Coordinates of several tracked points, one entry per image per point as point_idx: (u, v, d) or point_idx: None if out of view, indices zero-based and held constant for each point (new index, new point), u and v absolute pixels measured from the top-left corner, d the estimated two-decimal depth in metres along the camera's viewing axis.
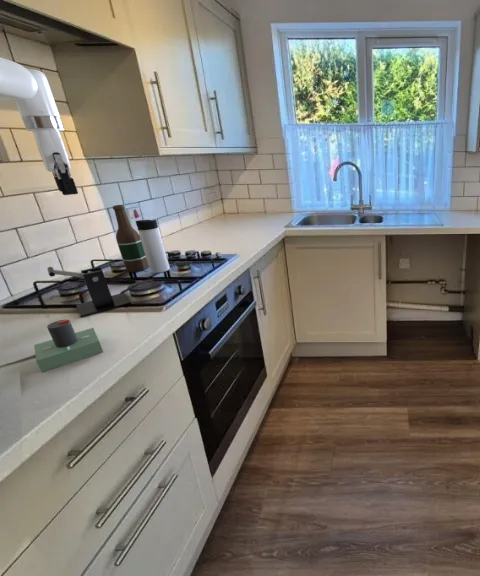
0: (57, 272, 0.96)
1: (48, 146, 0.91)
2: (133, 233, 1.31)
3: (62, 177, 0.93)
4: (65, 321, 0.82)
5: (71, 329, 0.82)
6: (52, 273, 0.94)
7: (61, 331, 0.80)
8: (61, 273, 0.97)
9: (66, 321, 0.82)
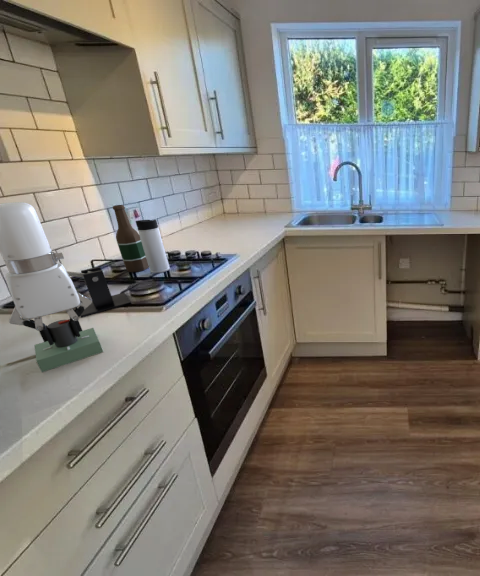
0: None
1: None
2: (133, 233, 1.31)
3: None
4: (65, 321, 0.82)
5: (71, 329, 0.82)
6: None
7: (61, 331, 0.80)
8: None
9: (66, 321, 0.82)
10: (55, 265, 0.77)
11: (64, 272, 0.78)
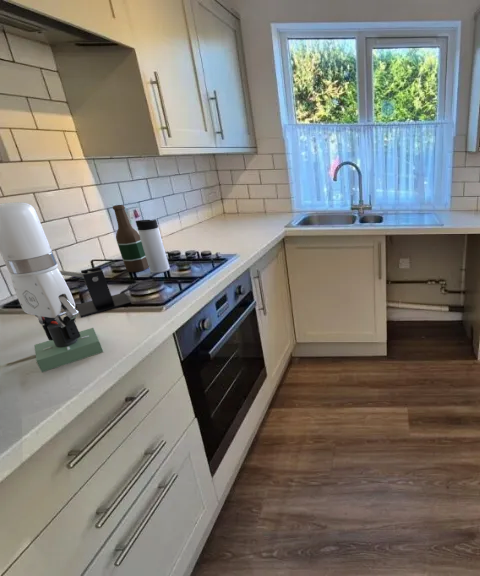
0: None
1: (53, 289, 0.75)
2: (133, 233, 1.31)
3: (67, 324, 0.79)
4: (55, 321, 0.82)
5: None
6: None
7: None
8: (61, 273, 0.97)
9: (55, 321, 0.82)
10: None
11: None
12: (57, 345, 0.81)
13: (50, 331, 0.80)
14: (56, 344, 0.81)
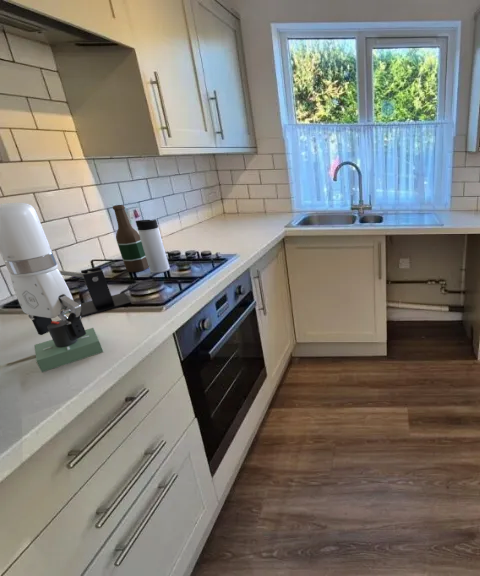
0: None
1: (53, 290, 0.75)
2: (133, 233, 1.31)
3: (73, 321, 0.78)
4: (55, 321, 0.82)
5: None
6: None
7: None
8: (61, 273, 0.97)
9: (55, 321, 0.82)
10: None
11: None
12: (57, 345, 0.81)
13: (50, 331, 0.80)
14: (56, 344, 0.81)
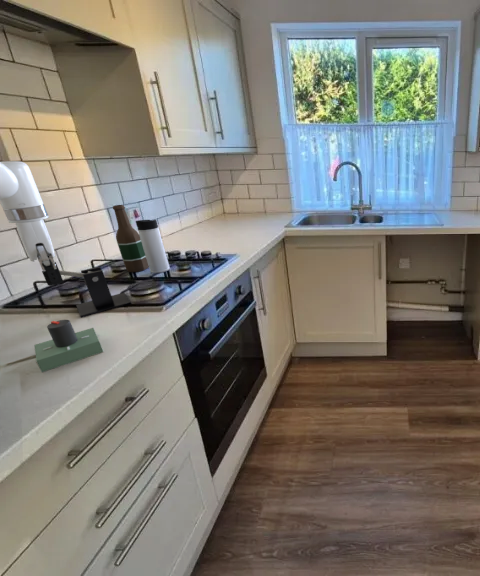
0: None
1: (31, 238, 0.88)
2: (133, 233, 1.31)
3: (47, 269, 0.92)
4: (55, 321, 0.82)
5: None
6: None
7: None
8: (61, 273, 0.97)
9: (55, 321, 0.82)
10: None
11: None
12: (57, 345, 0.81)
13: (50, 331, 0.80)
14: (56, 344, 0.81)
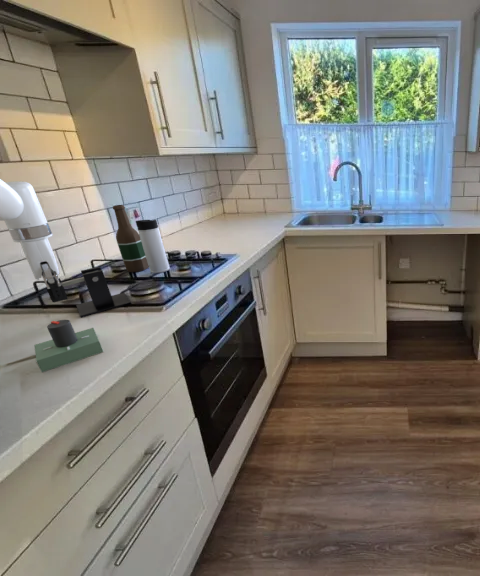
0: None
1: (35, 257, 0.89)
2: (133, 233, 1.31)
3: (51, 287, 0.93)
4: (55, 321, 0.82)
5: None
6: None
7: None
8: (63, 285, 0.98)
9: (55, 321, 0.82)
10: None
11: None
12: (57, 345, 0.81)
13: (50, 331, 0.80)
14: (56, 344, 0.81)
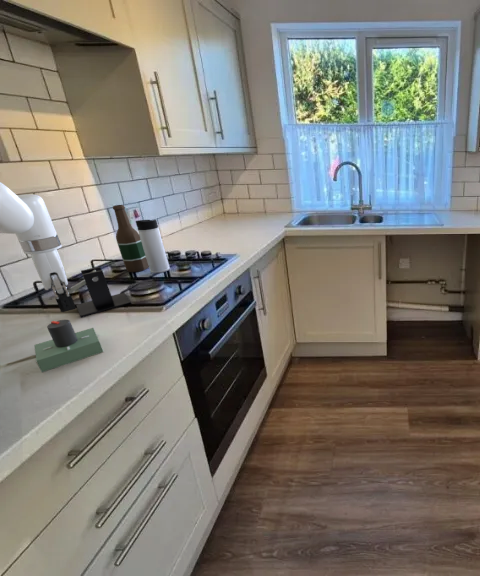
0: None
1: (45, 268, 0.91)
2: (133, 233, 1.31)
3: (60, 297, 0.95)
4: (55, 321, 0.82)
5: None
6: None
7: None
8: (68, 292, 0.99)
9: (55, 321, 0.82)
10: None
11: None
12: (57, 345, 0.81)
13: (50, 331, 0.80)
14: (56, 344, 0.81)
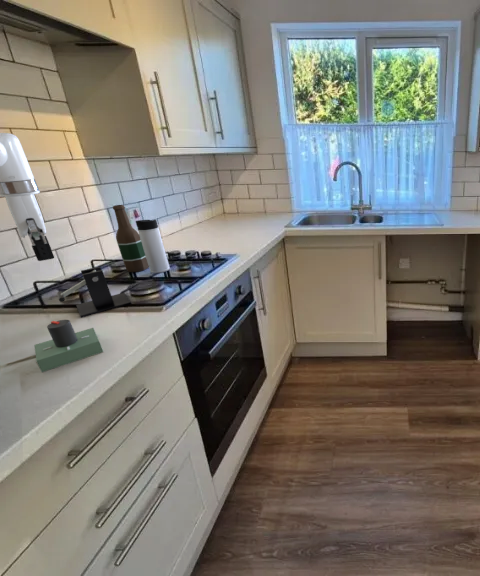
0: (65, 294, 0.99)
1: (21, 212, 0.86)
2: (133, 233, 1.31)
3: (36, 243, 0.88)
4: (55, 321, 0.82)
5: None
6: (61, 299, 0.97)
7: None
8: (68, 292, 0.99)
9: (55, 321, 0.82)
10: None
11: None
12: (57, 345, 0.81)
13: (50, 331, 0.80)
14: (56, 344, 0.81)
